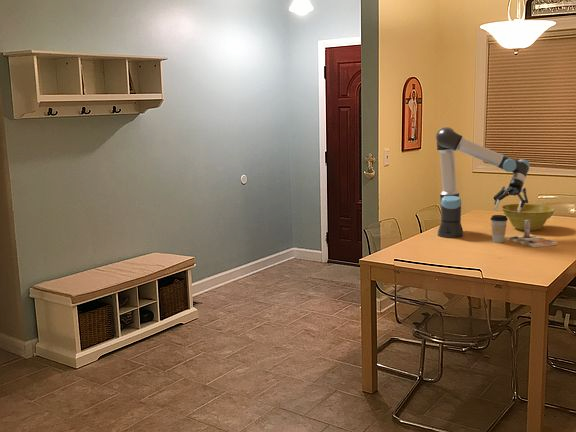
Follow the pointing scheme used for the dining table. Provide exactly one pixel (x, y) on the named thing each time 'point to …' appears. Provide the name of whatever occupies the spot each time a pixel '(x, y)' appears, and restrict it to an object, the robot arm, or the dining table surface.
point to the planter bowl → (528, 215)
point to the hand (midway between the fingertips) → (506, 210)
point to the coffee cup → (498, 228)
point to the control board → (531, 238)
